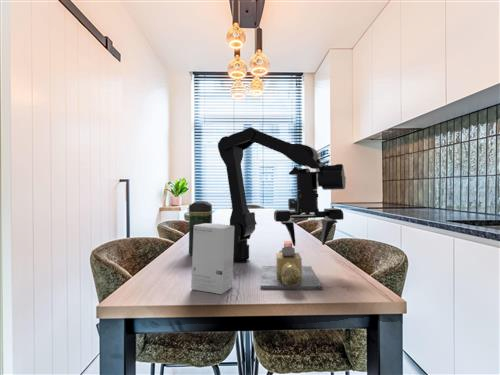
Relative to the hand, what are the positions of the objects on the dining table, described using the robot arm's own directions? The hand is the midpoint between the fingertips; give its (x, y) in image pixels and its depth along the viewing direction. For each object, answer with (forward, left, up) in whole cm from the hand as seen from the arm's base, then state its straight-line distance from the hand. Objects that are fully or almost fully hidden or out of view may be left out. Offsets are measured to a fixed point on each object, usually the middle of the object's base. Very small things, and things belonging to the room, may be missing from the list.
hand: (308, 245), depth 80 cm
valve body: (-6, -8, -7) cm, 12 cm away
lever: (-6, -4, -1) cm, 7 cm away
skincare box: (-24, -16, -7) cm, 30 cm away
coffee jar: (-35, +18, -7) cm, 40 cm away
